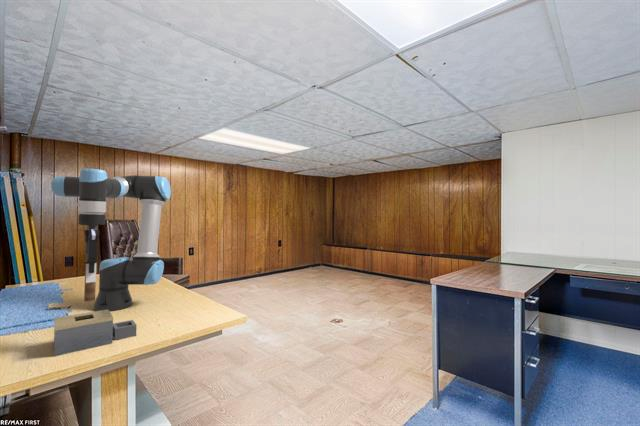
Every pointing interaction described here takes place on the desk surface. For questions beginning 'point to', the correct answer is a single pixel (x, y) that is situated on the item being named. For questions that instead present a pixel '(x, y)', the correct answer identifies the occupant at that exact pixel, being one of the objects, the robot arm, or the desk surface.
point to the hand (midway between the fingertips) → (90, 280)
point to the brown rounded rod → (89, 288)
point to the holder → (124, 329)
